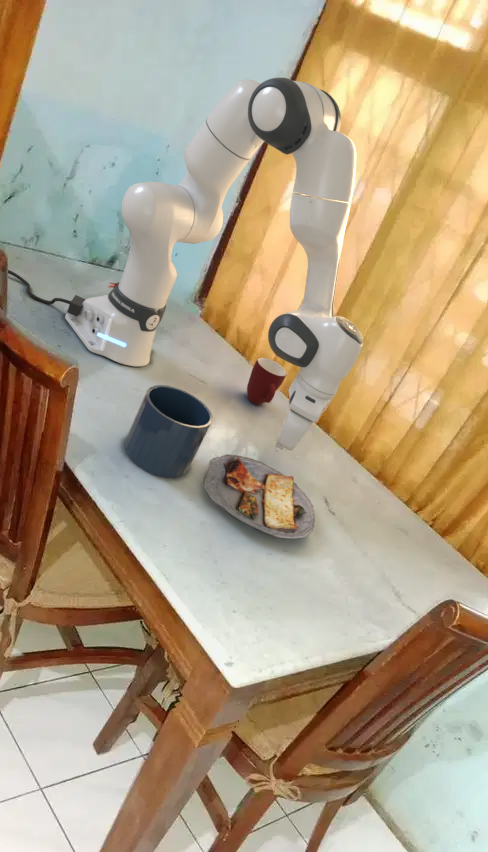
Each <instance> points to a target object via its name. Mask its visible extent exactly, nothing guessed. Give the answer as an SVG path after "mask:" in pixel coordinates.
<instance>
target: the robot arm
mask: <svg viewBox="0 0 488 852" xmlns="http://www.w3.org/2000/svg"><path fill="white" fill-rule="evenodd" d="M341 114H342V113H341V110H340V107H339V105H338V103H337V101H336V100H335V99H334V97H333V96H332V95H331V94H330V93H329V92H327V91H325V90H324V89H321V88H318V87H317V86H314V85H313V84H310V83H308V82H305V81H297V80H292V79H291V78H287V77H272V78H269V79H266V80H264V81H263V82H258V81H255V80H253V79H247V78H246V79H242V80H240V81H238V82H237V83H235V85H233V87H232V88H230V89H229V90H228V91H227V92H226V93H225V95H223V97H221V99H220V100H219V101H218V102H217V103H216V105H215V106H214V108H213V109H212V110H211V111H210V113H209V114H208V116H207V117H206V118H205V120H204V121H203V123H202V124H201V126H200V127H199V128H198V130H197V131H196V133H195V134H194V136H193V137H192V138H191V140H190V141H189V143H188V144H187V146H186V148H185V149H184V155H183V158H184V164H185V167H186V172H185V174H184V177H183V179H182V181H180V183H178V184H176V185H175V184H169V183H165V182H162V181H161V182H160V181H145V182H144V181H143V182H137V183H134V184H132V185H131V186H129V187H128V188H127V189H126V191H125V193H124V195H123V198H122V200H121V217H122V220H123V223H124V224H125V226H126V228H127V229H128V233H129V243H130V244H129V252H128V257H127V260H126V263H125V266H124V269H123V271H122V275H121V278H120V280H119V282H109V283H108V284H110V285H108V286H107V288H112V289H111V290H110V292H109V293H108V294H102V295H96V296H92V297H91V296H90V297H87V298H84V297H81V296H79V295H77V294H75V295H74V296H73V298H72V299H71V300H69V299H66V298H62V297H54V298H53V299H51V300H46V299H43V298H41V297H39V296H37V295H36V294H34V293H33V292H32V291H31V285H30V283H29V282H28V281H27V280H26V279H25V278H23V277H22V276H21V275H19V274H18V273H16V272H14V271H12V270H10V269H7V270H8V273H7V274H9V275H11V276H13V277H15V278H16V279H18V280H19V281H20V282H21V283H23V284H24V285H25V286H26V289H25V290H26V291H25V292H26V294H27V295H28V296H30V297H31V298H33V299H34V300H36V301H38V302H40V303H43V304H47V305H54V304H55V303H56V302H61V303H65V304H67V305H68V308H67V311H66V313H65V316H64V319H65V320H66V321H67V323H68V324H69V326H70V327H71V329H72V330H73V331H74V333H75V334H76V335H77V336H78V338H79V339H80V341H81V342H82V344H83V345H84V346H85V347H86V348H87V350H88V351H89V352H91V353H93V354H96V355H99V356H103V357H105V358H108V359H109V360H112V361H114V362H116V363H119V364H121V365H125V366H129V367H136V368H137V367H144V366H147V365H148V364H149V363H150V361H151V354H152V350H153V343H154V339H155V336H156V332H157V329H158V327H159V325H160V323H161V321H162V319H163V317H164V314H165V312H166V309H167V305H166V304H167V302H168V299H169V297H170V295H171V293H172V290H173V287H174V285H175V283H176V281H177V277H178V271H177V269H176V267H175V266H176V265H174V263H173V261H172V253H173V249H174V246H175V245H176V243H182V244H191V245H196V244H201V243H206V242H210V241H213V240H214V239H216V237H217V236H218V235H219V234H220V232H221V230H222V227H223V223H224V213H223V208H222V206H223V204H224V201H225V198H226V196H227V193H228V191H229V189H230V188H231V186H232V185H233V183H234V182H235V181H236V179H237V178H238V176H240V173H241V172H242V171H243V170H244V169H245V167H246V165H248V163H249V162H250V160H251V159H252V158H253V156H254V155H255V153H257V152H258V150H259V148H260V147H261V146H262V145H263V144H264V143H265V144H267V145H269V146H270V147H272V148H273V149H276V150H278V151H279V152H281V153H282V154H284V155H290V154H291V155H292V157H293V158H294V162H295V166H296V170H295V179H294V184H293V188H292V195H291V200H290V207H289V228H290V230H291V233H292V235H293V237H294V239H295V240H296V242H298V243H299V244H300V246H301V247H302V248H303V250H304V252H305V254H306V258H307V269H306V278H305V286H304V294H303V300H302V303H301V305H300V306H299V308H297V310H292V311H288V312H285V313H282V314H280V315H278V316H276V317H275V318H274V319H273V320H272V322H271V323H270V325H269V329H268V332H267V334H268V335H267V340H268V343H269V344H268V345H269V347H270V349H271V351H272V353H274V355H276V356H277V357H278V358H280V359H281V360H283V361H285V362H287V363H289V364H292V365H294V366H296V367H299V370H298V372H297V374H296V375H295V377H294V379H293V380H292V382H291V383H290V386H289V387H288V390H287V391H288V394H289V401H288V407H287V411H286V414H285V417H284V420H283V423H282V425H281V428H280V431H279V434H278V436H277V439H276V443H275V448H277V449H279V450H283V449H286V450H288V451H293V450H294V448H296V446H298V445H299V443H300V442H301V440H302V439H303V437H304V436H305V434H306V433H307V432H308V430H309V429H310V428H311V426H312V425H313V423H315V424H316V423H317V422H318V421H319V420H320V418H321V416H322V414H323V413H324V412H326V410H327V409H328V407H329V406H330V404H331V403H332V401H333V399H334V398H335V397H336V395H337V393H338V391H339V387H340V385H341V383H342V381H344V379H345V378H347V377H348V375H349V373H350V372H351V371H352V369H353V367H354V365H355V364H356V362H357V360H358V358H359V356H360V354H361V351H362V349H363V345H364V338H363V335H362V333H361V331H360V329H359V328H358V327H357V325H355V324H354V322H352V321H351V320H349V319H347V318H346V317H344V316H341V315H336V313H335V298H336V292H337V284H338V277H339V272H340V264H341V258H342V248H343V245H344V244H343V243H344V238H345V232H346V227H347V223H348V221H349V220H348V219H349V214H350V210H351V206H352V201H353V195H354V190H355V189H354V188H355V181H356V170H357V149H356V145H355V143H354V142H353V140H352V139H351V138H349V136H347V135H346V134H344V133H342V132H340V129H341V123H342V115H341Z"/></svg>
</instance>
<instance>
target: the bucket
mask: <svg viewBox="0 0 488 852" xmlns="http://www.w3.org/2000/svg"><path fill="white" fill-rule="evenodd" d="M213 419H214V417H213V415H212V412H211V410H210V409H209V407H208V406H207V405H206V404H205V403H204V402H203V401H202V400H200V399H199V398H198V397H196V396H195V395H193V394H192V393H189V392H187V391H186V390H183V389H180V388H178V387H174V386H171V385H164V384H157V385H153V386H150V387H149V388H148V389H147V390H146V392H145V394H144V396H143V399H142V401H141V403H140V405H139V408H138V410H137V413H136V414H135V417H134V420H133V422H132V424H131V427H130V429H129V431H128V433H127V435H126V438H125V441H124V445H123V448H124V452H125V454H126V456H127V457H128V458H129V459H130V460H131V462H132V463H133V464H135V465H136V466H137V467H138V468H140V469H142V471H143V470H144V471H145V472H147V473H149V474H152V475H154V476H157V477H159V478H166V479H177V478H180V477H181V478H182V477H184V475H186V474H187V473H188V471H189V469H190V467H191V465H192V463H193V461H194V459H195V458H196V456H197V453H198V451H199V449H200V447H201V446H202V443H203V441H204V439H205V437H206V435H207V433H208V431H209V429H210V427H211V425H212V423H213Z"/></svg>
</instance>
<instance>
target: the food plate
mask: <svg viewBox="0 0 488 852" xmlns="http://www.w3.org/2000/svg"><path fill="white" fill-rule="evenodd" d="M208 463H209V464H208V468H207V471H206V475H205V480H204V483H203V486H204V489H205V491H206V492H207V494H208V496H209V498H210V499H211V500H212V501H213V502H214V503H216V504H217V505H218V506H220V507H222V508H223V509H224V510H225V511H226V512H227V513H228V514H230V515H231V516H233V517H234V518H235V519H237V520H240V521H241V522H242V523H244V524H245V525H247V526H250V527H252V528H254V529H256V530H259V531H260V532H262V533H266V534H269V535H272V536H274V537H275V538H282V539H301V538H305V537H307V536H309V535H310V534H312V533H313V532H314V528H315V524H316V523H315V520H316V519H315V508H314V504H313V502H312V501H311V499H310V498H309V497H308V495H307V494H306V493H305V492H304V491H303V490H302V489H301V488H300V487H299V486H298V484H297V483H296V482H294V480H295V478H294V476H292V475H290V476H289V475H284V474H283V473H282V472H281V471H279V470H277V469H275V468H273V467H271V466H269V465H267V463H264V462H262V461H259V460H256V459H254V458H251V457H247V456H242V455H235V454H223V455H221V456H216V457H214V458H212V459H210V460H209V462H208Z"/></svg>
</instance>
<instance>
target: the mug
mask: <svg viewBox="0 0 488 852" xmlns="http://www.w3.org/2000/svg"><path fill="white" fill-rule="evenodd" d="M287 375H288V373H287V370H286V369H285V368H284V367H283V366H282V365H280V363H278V362H276V361H274V360H272V359H270V358H268V357H262V356H261V357H257V360H256V361H255V363H254V364H253V367H252V369H251V373H250V376H249V378H248V382H247V385H246V397H247V400H248V401H249V402H250V403H252V404H254V405H256V406H258V405H259V406H261V405H262V404H264V403H266V404H268V403H271V402H272V401H273V399H274V397H275V394H276V392H277V391H278V389H279V388H280V387H281V385H282V384H283V382H284V381H285V379H286V377H287Z"/></svg>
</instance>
